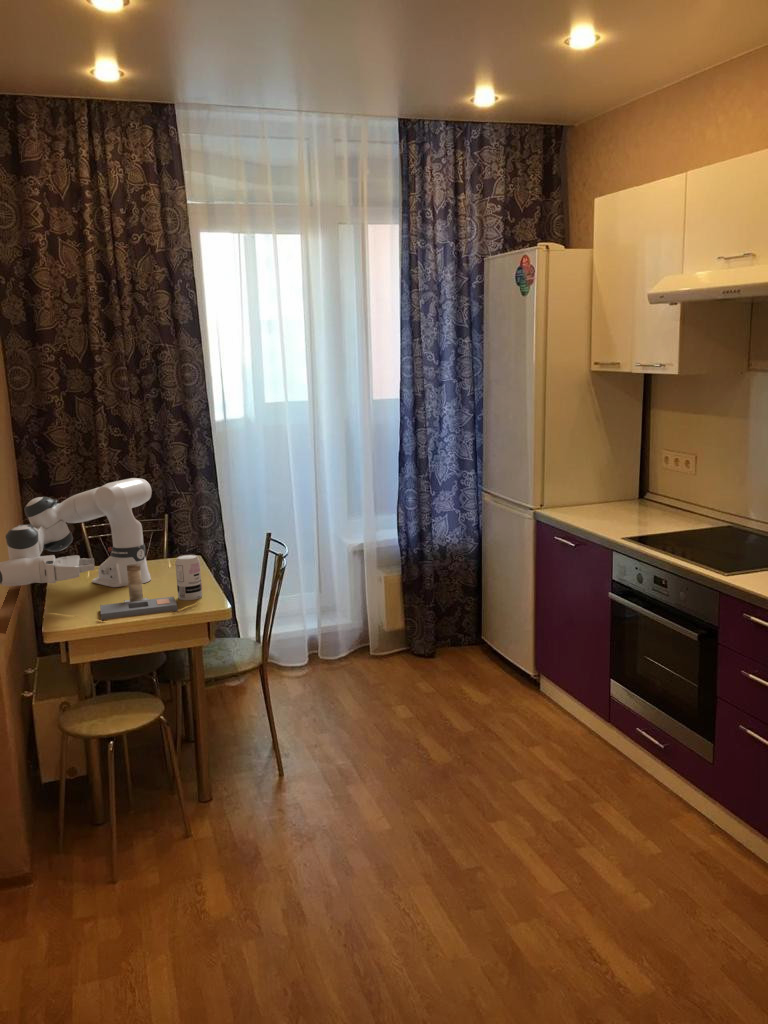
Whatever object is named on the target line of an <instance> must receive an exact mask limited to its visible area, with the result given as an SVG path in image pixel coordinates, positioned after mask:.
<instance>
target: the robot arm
mask: <svg viewBox="0 0 768 1024" xmlns="http://www.w3.org/2000/svg"><path fill="white" fill-rule="evenodd" d="M152 489H153V488H152V486H151V484H150V483H149V482H148V481H147V480H146V479H144V478H140V477H139V478H137V477H130V478H125V479H121V480H116V481H111V482H108V483H106V484H103V485H102V486H98V487H95V488H92V489H88V490H86V491H83V492H79V493H76V494H73V495H71V496H70V497H67V498H66V499H65V500H62V502H59V503H58V499H57V498H51V497H48V496H38V497H35V498H33V499H31V500H30V501H29V502H28V503H27V504H25V505H24V508H23V509H24V510H23V512H24V514H25V517H26V518H27V519H28V521H29V523H25V524H24V523H23V524H18V525H16V526H15V527H13V528H10V529H9V531H8V532H7V533H6V534H5V541H6V545H7V551H8V560H4V561H0V585H1V586H9V587H10V586H13V587H16V586H26V585H30V584H36V583H38V584H45V583H47V584H56V583H57V582H61V581H66V580H72V579H75V578H79V577H80V575H81V574H82V573H86V572H89V571H94V570H95V558H85V557H83V558H81V557H80V556H81V555H77V554H75V555H67V556H59V557H57V558H56V556H55V554H50V555H41V554H42V553H43V551H48V552H54V553H57V552H61V551H63V550H65V549H67V548H68V547H69V546H70V545H71V544H72V543H73V540H74V537H73V533H72V531H71V530H70V528H69V526H68V524H77V523H78V524H79V523H85V522H89V521H92V520H96V519H99V518H102V517H106V518H107V520H108V523H109V526H110V531H111V538H112V547H108V548H107V549H108V552H110V554H109V557H107V558H106V559H105V561H103V562H102V563H101V564H100V565H99V567H98V575H97V577H95V578H93V579H92V581H91V583H94V584H97V585H102V586H106V587H111V588H119V587H127V586H129V585H128V574H127V565H129V564H140V567H141V580H142V584H145V583H148V582H150V581H151V580H152V577H151V574H150V572H149V566H148V562H147V557H146V545H145V544H146V543H144V534H143V526H142V523H141V522H140V521H139V520H138V519H136V517H135V515H134V513H133V509H134V508H137V507H139V506H142V505H144V504H145V503H146V502H148V501H150V499H151V498H152V494H153V493H152V492H153V490H152ZM67 523H68V524H67Z"/></svg>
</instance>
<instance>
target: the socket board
mask: <svg viewBox="0 0 768 1024" xmlns="http://www.w3.org/2000/svg"><path fill="white" fill-rule="evenodd" d="M99 609H100V619H101V620H100V621H101V622H104V621H103V620H108V619H116V618H123V617H125V618H126V617H132V616H133V617H134V616H140V615H141V616H142V615H149V614H157V613H166V612H172V613H176V611H178V604H177V601H176V599H175V596H167V597H159V598H150V599H149V598H148V600H140V601H132V602H118V603H117V602H116V603H108V604H101V605H99ZM178 612H179V611H178Z"/></svg>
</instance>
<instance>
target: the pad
mask: <svg viewBox="0 0 768 1024" xmlns="http://www.w3.org/2000/svg"><path fill="white" fill-rule="evenodd" d="M143 600H149V597H143ZM123 601H124V602H130V599H127V600H126V599H125V600H123Z"/></svg>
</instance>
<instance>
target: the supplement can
mask: <svg viewBox="0 0 768 1024" xmlns="http://www.w3.org/2000/svg"><path fill="white" fill-rule="evenodd" d="M174 565H175V575H176V587H177V599H178V600H180V601H193V600H194V601H195V600H199V599H201V598H203V585H202V572H201V571H202V570H201V561H200V558H199V556H198V555H196V554H184V555H179V556H177V557H176V559H175V564H174Z"/></svg>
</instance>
